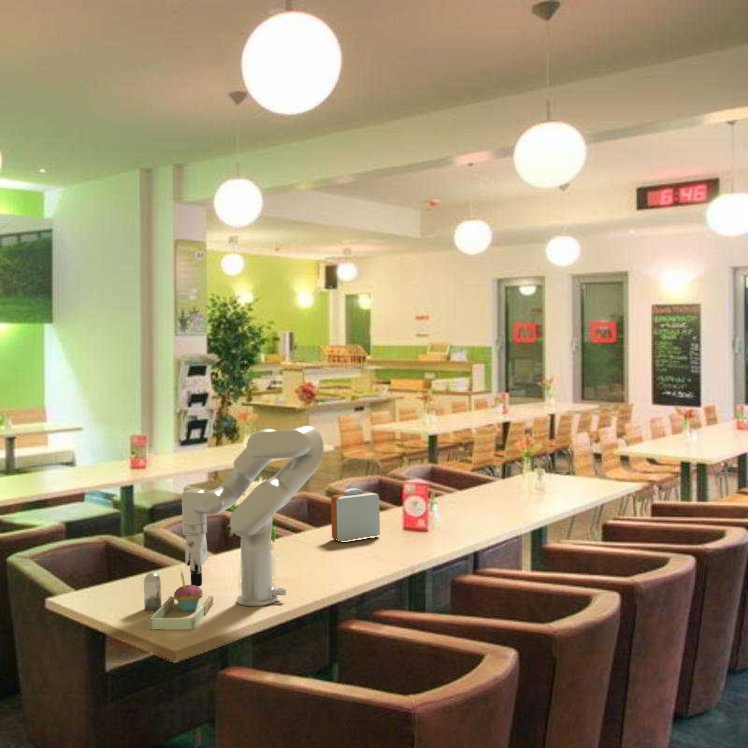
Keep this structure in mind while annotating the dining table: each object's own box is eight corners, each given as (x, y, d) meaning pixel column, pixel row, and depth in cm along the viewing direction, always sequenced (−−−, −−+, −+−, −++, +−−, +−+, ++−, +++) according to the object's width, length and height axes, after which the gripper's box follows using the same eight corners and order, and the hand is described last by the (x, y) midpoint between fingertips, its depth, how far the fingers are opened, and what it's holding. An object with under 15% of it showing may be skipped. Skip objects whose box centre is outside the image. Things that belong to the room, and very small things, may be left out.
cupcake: (180, 614, 248) (179, 575, 248) (169, 608, 255) (168, 569, 255) (207, 609, 253) (206, 570, 253) (196, 602, 260) (194, 564, 260)
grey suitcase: (370, 534, 350) (369, 485, 350) (380, 537, 343) (379, 488, 342) (331, 539, 341) (330, 490, 340) (341, 544, 333) (339, 493, 333)
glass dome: (163, 606, 257) (162, 570, 257) (158, 611, 252) (157, 575, 252) (147, 606, 257) (146, 570, 257) (142, 611, 252) (141, 575, 252)
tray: (204, 615, 247) (203, 605, 247) (194, 629, 235) (194, 618, 235) (161, 615, 248) (161, 606, 248) (149, 629, 236) (149, 619, 236)
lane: (213, 604, 258) (213, 596, 258) (205, 615, 247) (205, 607, 247) (170, 604, 258) (170, 596, 258) (160, 616, 248) (160, 607, 248)
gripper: (200, 533, 256) (202, 592, 257) (211, 523, 271) (213, 578, 272) (176, 533, 257) (178, 592, 257) (189, 523, 272) (190, 579, 272)
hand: (196, 585), depth 265 cm, fingers closed
